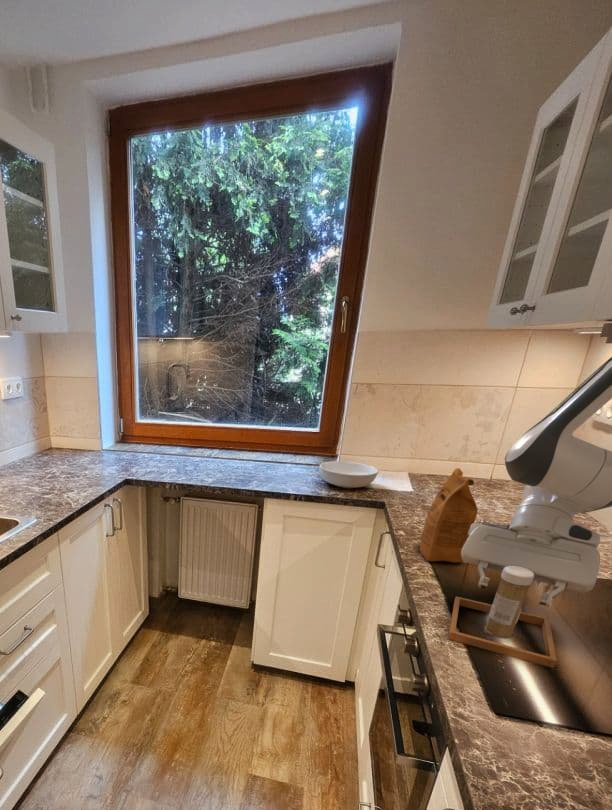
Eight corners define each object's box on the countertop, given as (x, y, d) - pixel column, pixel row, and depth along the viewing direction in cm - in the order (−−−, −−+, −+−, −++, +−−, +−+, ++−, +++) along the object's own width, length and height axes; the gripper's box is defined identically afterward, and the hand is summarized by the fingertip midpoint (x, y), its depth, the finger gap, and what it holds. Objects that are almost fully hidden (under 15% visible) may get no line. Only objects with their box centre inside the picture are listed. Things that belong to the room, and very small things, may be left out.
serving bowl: (368, 496, 168) (372, 477, 165) (310, 487, 178) (312, 469, 175) (379, 482, 183) (383, 465, 181) (325, 474, 194) (328, 458, 191)
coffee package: (456, 548, 126) (478, 468, 117) (466, 567, 116) (492, 481, 107) (415, 543, 129) (434, 464, 120) (421, 562, 119) (442, 477, 110)
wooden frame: (544, 629, 91) (549, 618, 90) (551, 673, 80) (556, 660, 78) (452, 606, 99) (455, 596, 98) (446, 643, 87) (450, 632, 86)
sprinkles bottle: (517, 636, 88) (540, 573, 83) (501, 643, 86) (525, 578, 81) (492, 624, 92) (513, 562, 86) (477, 630, 90) (498, 567, 85)
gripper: (474, 510, 92) (448, 571, 90) (612, 537, 79) (587, 609, 77) (473, 525, 97) (448, 583, 95) (604, 553, 84) (579, 621, 82)
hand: (512, 595), depth 86 cm, fingers open, 8 cm apart
